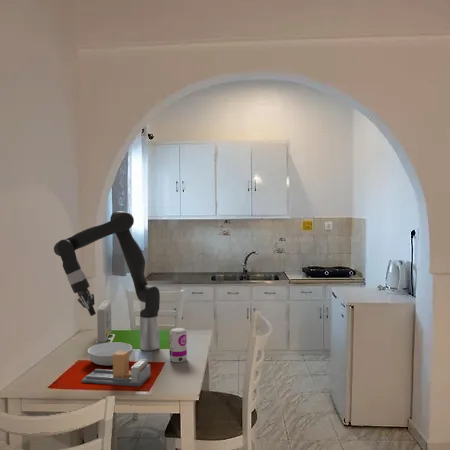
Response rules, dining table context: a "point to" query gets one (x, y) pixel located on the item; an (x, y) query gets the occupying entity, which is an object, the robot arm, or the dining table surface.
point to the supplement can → (178, 344)
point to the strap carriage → (121, 364)
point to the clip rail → (138, 377)
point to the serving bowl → (107, 352)
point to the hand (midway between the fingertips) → (93, 315)
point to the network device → (104, 322)
